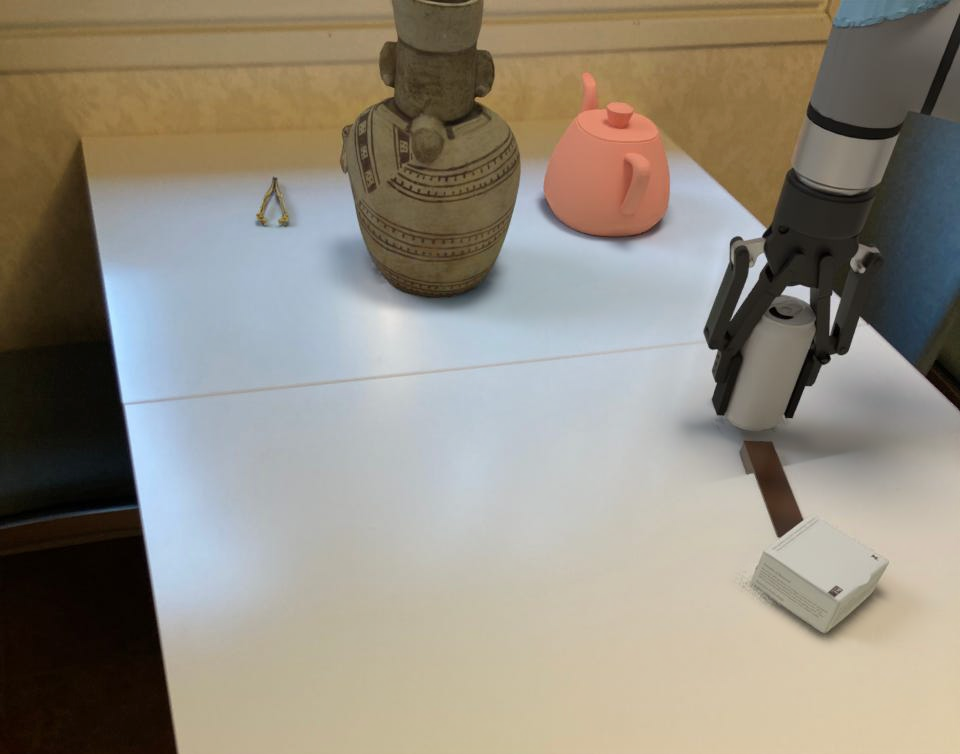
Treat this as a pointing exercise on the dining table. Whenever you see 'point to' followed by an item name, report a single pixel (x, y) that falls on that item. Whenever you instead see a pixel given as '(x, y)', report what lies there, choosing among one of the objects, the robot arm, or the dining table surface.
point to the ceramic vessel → (433, 155)
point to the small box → (818, 572)
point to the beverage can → (771, 364)
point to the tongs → (266, 197)
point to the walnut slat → (772, 484)
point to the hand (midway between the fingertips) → (752, 408)
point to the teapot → (608, 170)
